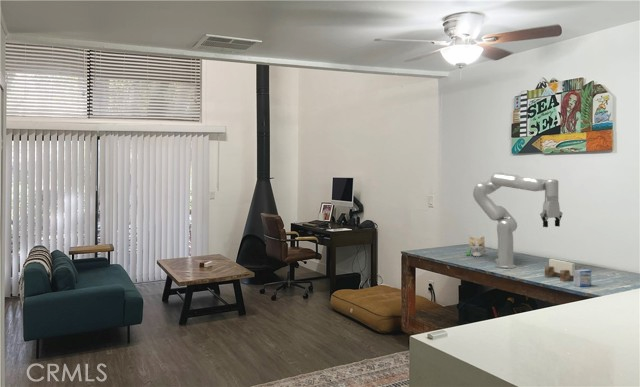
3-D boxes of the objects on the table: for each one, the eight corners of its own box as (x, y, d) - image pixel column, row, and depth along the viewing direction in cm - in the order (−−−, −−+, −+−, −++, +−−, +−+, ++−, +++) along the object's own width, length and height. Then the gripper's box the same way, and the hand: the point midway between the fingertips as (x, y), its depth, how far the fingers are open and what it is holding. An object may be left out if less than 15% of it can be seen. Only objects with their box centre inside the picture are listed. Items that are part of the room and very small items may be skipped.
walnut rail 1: (547, 277, 277) (548, 267, 277) (544, 276, 280) (544, 266, 279) (563, 275, 282) (563, 265, 281) (559, 275, 284) (559, 265, 284)
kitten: (465, 257, 349) (465, 237, 349) (465, 254, 359) (465, 235, 358) (487, 257, 345) (487, 237, 344) (486, 255, 354) (486, 235, 354)
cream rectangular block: (549, 270, 283) (549, 259, 282) (551, 270, 283) (551, 258, 283) (572, 275, 268) (572, 263, 267) (574, 275, 268) (574, 263, 268)
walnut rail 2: (563, 281, 267) (563, 271, 267) (560, 280, 269) (560, 270, 269) (579, 279, 271) (579, 269, 271) (575, 278, 274) (575, 268, 273)
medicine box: (579, 287, 254) (579, 271, 253) (573, 285, 258) (573, 269, 258) (591, 286, 256) (591, 270, 256) (584, 284, 260) (585, 268, 260)
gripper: (557, 198, 299) (556, 225, 299) (536, 199, 292) (535, 226, 293) (567, 199, 291) (566, 226, 292) (545, 200, 285) (545, 228, 286)
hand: (551, 226), depth 293 cm, fingers open, 9 cm apart
